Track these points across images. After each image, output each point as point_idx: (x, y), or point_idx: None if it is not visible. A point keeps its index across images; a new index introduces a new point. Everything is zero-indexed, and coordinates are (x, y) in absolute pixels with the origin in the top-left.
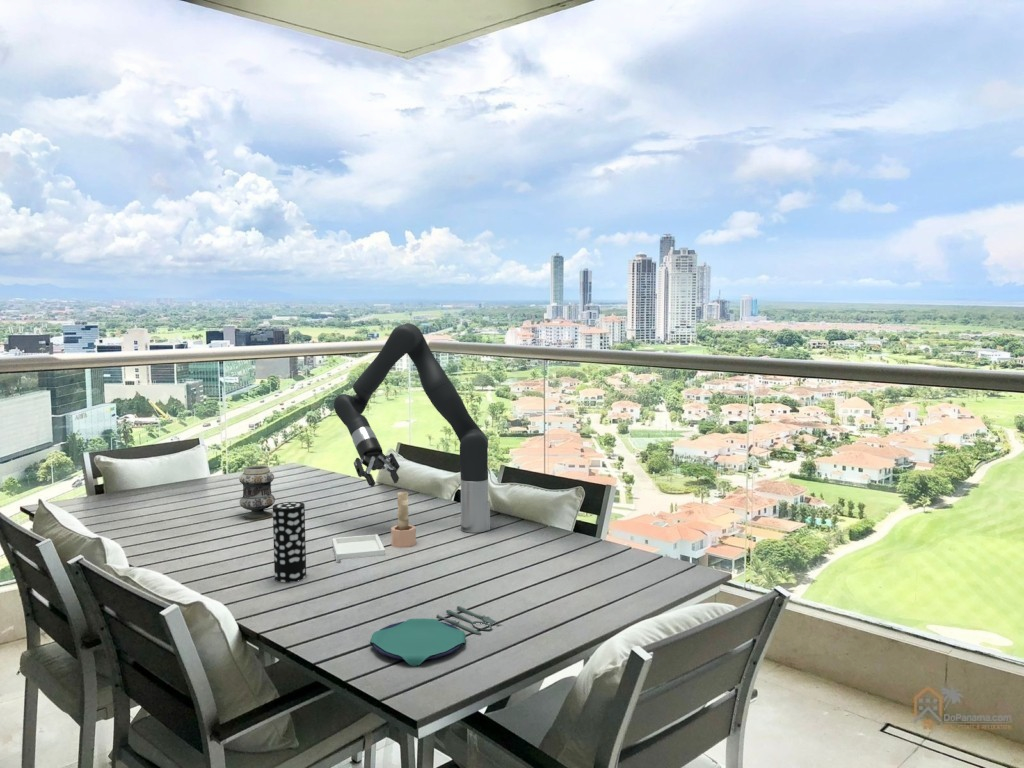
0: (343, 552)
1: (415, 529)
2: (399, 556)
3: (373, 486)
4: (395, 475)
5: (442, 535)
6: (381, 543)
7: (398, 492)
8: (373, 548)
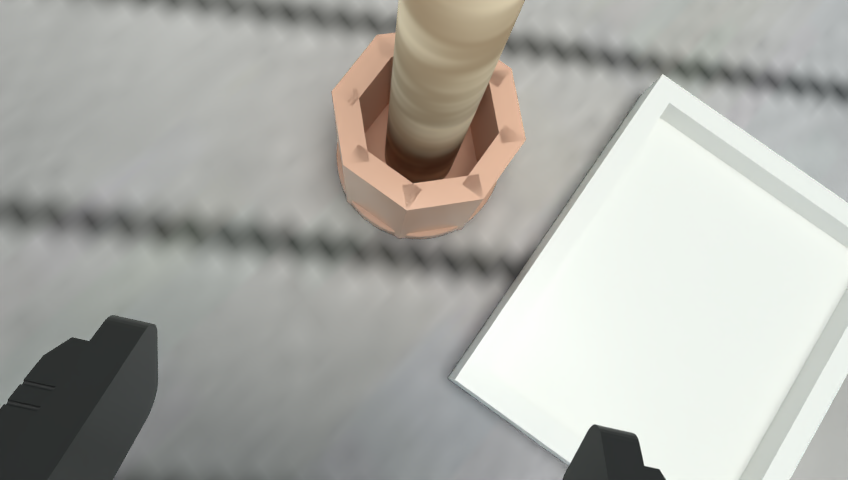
0: (787, 329)
1: (380, 38)
2: (565, 53)
3: (565, 474)
4: (94, 382)
5: (61, 124)
6: (587, 190)
7: (488, 8)
8: (613, 236)
